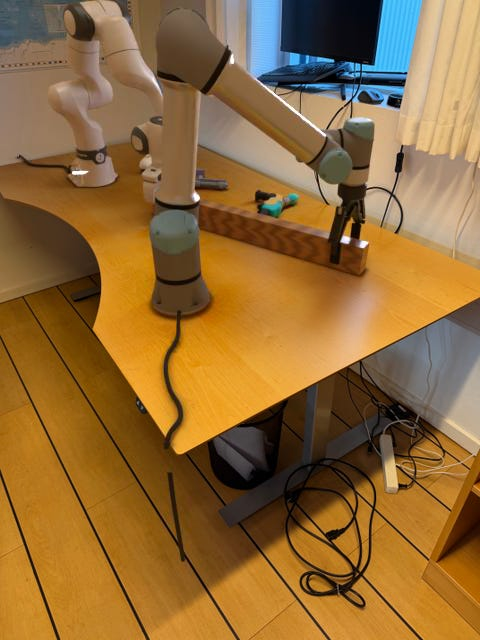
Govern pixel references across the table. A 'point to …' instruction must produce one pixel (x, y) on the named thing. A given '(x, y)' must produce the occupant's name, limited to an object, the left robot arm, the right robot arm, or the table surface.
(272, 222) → the beam
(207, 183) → the toy gun
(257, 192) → the toy gun
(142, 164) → the sneaker
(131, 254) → the table surface
